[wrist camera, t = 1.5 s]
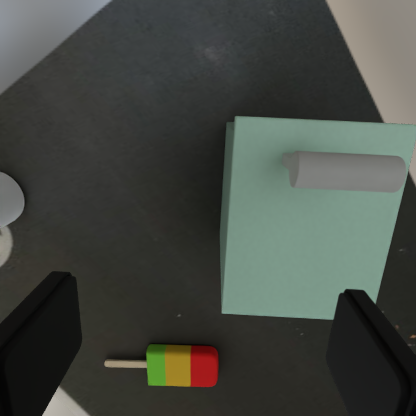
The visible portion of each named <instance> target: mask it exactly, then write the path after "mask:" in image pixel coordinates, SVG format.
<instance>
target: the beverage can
mask: <svg viewBox="0 0 416 416" xmlns="http://www.w3.org/2000/svg"><path fill="white" fill-rule="evenodd" d="M23 209H24V196H23V192H22V190H21V188H20V187H19V185H18V184H17V183H16V182H15V180H13V179H12V178H11V177H10V176H8V175H7V174H5V173H2V172H0V228H2V227H4V226H6V225H7V224H9V223H11V222H13V221H14V220H16V219H17V218H18V217H19V216H20V215H21V213H22V211H23Z"/></svg>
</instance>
